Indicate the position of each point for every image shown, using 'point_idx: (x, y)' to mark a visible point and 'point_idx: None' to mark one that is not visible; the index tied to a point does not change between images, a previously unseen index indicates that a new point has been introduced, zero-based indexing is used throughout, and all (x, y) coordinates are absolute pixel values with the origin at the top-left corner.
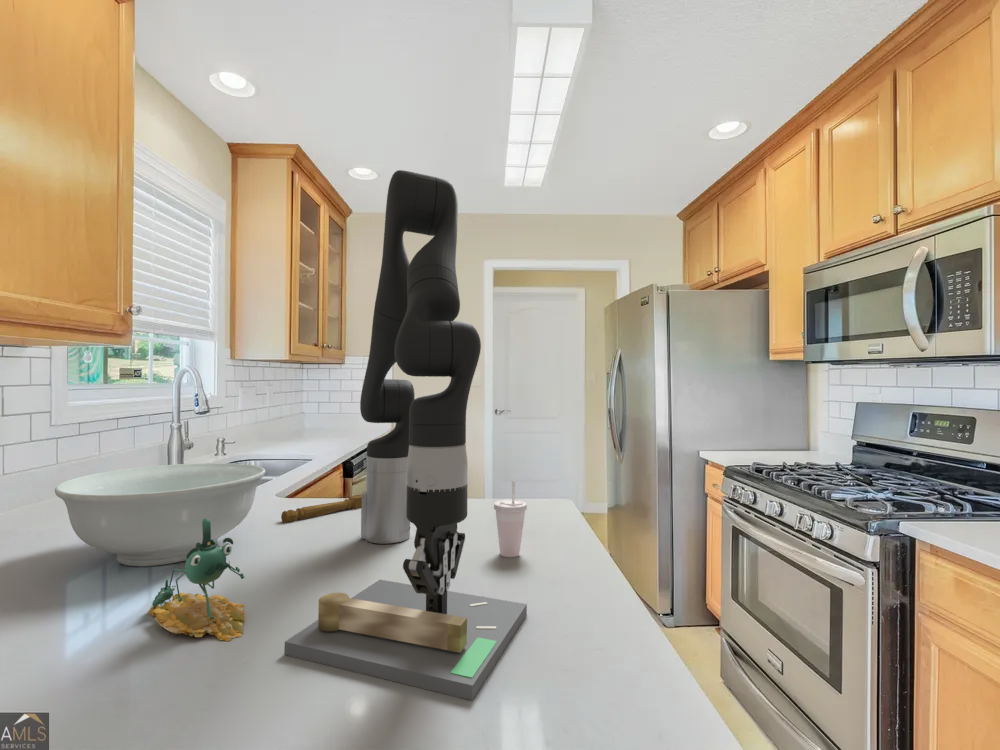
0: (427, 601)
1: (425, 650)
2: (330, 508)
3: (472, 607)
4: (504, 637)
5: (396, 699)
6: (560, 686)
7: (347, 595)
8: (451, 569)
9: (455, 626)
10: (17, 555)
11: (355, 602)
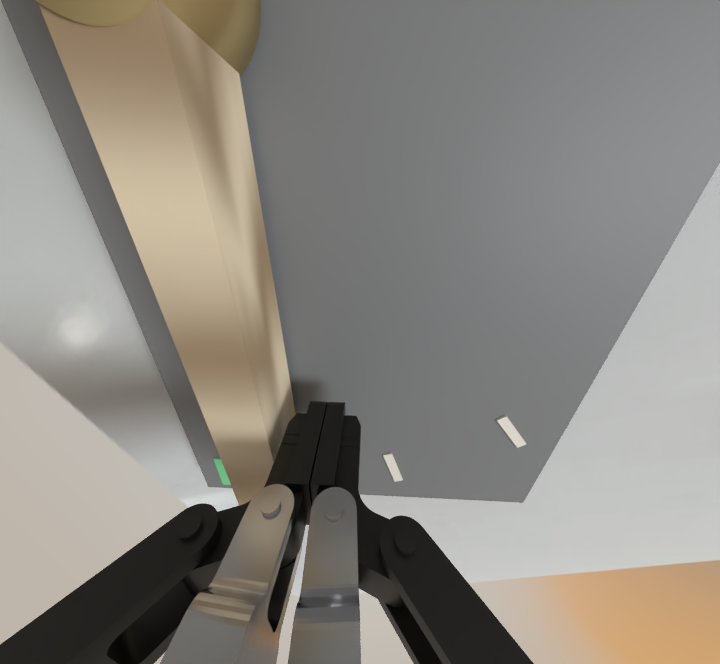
0: (274, 469)
1: None
2: None
3: (492, 423)
4: (367, 494)
5: (146, 379)
6: (308, 527)
7: None
8: (389, 612)
9: None
10: None
11: (144, 118)
